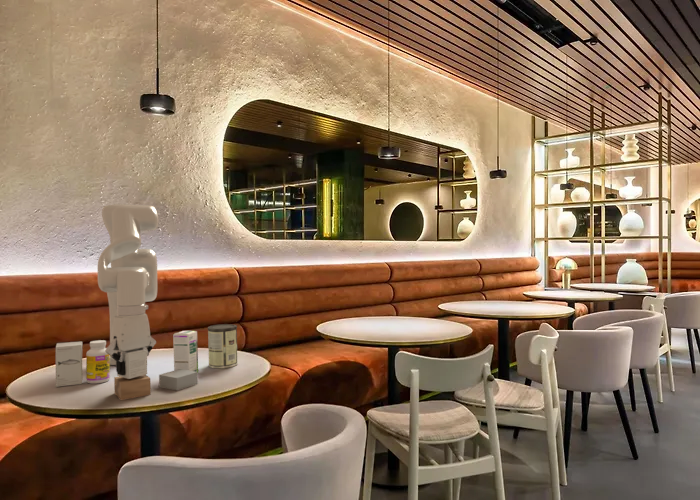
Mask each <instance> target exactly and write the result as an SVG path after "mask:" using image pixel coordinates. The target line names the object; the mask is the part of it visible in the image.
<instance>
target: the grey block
mask: <svg viewBox="0 0 700 500" xmlns="http://www.w3.org/2000/svg"><path fill="white" fill-rule="evenodd" d="M198 374H199V371H198V372H195V371H189V370H183V369H178V370H174V369H173V370H171V371H167V372H163V373H161V374H158V380H159V383H158V384H159V385H158V387H159V388H163V389H168V390H174V391H180V390H183V389H186V388H189V387H192V386H195V385H198V384H199V381H198V380H199V379H198Z"/></svg>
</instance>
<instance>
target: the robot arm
mask: <svg viewBox="0 0 700 500" xmlns="http://www.w3.org/2000/svg"><path fill="white" fill-rule="evenodd" d="M101 217H102V218H101V219H102V221H103V224H104V226H105V228H106V230H107V232H108V234H109V239H110V244H108V245H107V246H106V247H105V248H104V249H103V251H102V252H101V253H100V255H99V257H98V260H97V285H98V288H99V289H100V291H101V292H104V293H106V294H107V295H106V296H107V300H108V309H109V345H107V347H106V348H107V349H106V350H105V352H106V353H107V354H109V363H110V366H115V369H116V370H115V371H116V374H119V375H125V374H126V371H125V361H123V360H124V357H125V353H126V351H130V350H135V349H143V350H147V357H149V355H150V352H151V351H152V350H153V348H154V346H155V345H156V344H157V341H156V339H154V338H153V337H152V336H151V330H150V328H151V327H150V321H149V318H148V314H147V313H146V310H149V305H148V304H146V303H147V302H153V301H155V300H156V298H157V296H158V258H157V255H156V254H157V253H156V252H155V251H154V250H153V249H150V248H141V247H142V237H141V231H142V232H143V231H144V232H145V231H148V232H149V231H156V230H157V229H158V226H159V214H158V211H157V209H156V208H155V206H153V205H149V204H129V203H128V204H126V203H125V204H123V203H121V204H120V203H118V204H117V203H116V204H115V203H114V204H107V205H105V206H103V207H102V211H101ZM109 265H110V267H109ZM120 353H121V354H120Z"/></svg>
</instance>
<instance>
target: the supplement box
mask: <svg viewBox="0 0 700 500" xmlns="http://www.w3.org/2000/svg"><path fill="white" fill-rule="evenodd" d="M82 384H83V341H70V342H57V343H56V345H55V388H59V387H66V386H74V385H75V386H76V385H82Z"/></svg>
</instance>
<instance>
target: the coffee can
mask: <svg viewBox="0 0 700 500" xmlns="http://www.w3.org/2000/svg"><path fill="white" fill-rule="evenodd" d="M237 331H238V325H236V324H231V323H230V324H229V323H224V324H221V323H220V324H213V325H210V326H208V327H207V335H208V336H207V337H208V338H207V339H208V341H207V343H208V345H207V346H208V347H207V348H208V367H209V368H210V369H211V368H212V369H228V368H233V367H236V366H237V365H238V337H237V336H238V333H237Z"/></svg>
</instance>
